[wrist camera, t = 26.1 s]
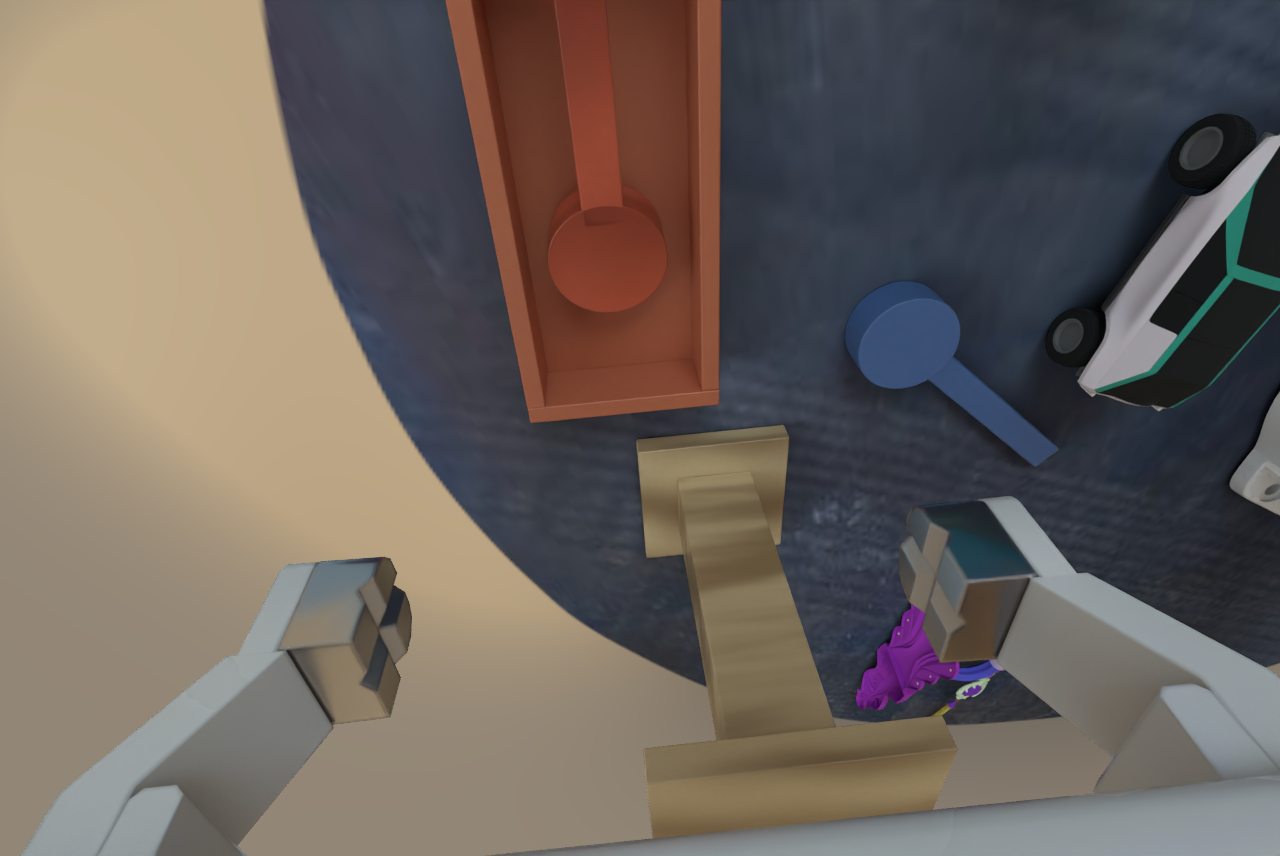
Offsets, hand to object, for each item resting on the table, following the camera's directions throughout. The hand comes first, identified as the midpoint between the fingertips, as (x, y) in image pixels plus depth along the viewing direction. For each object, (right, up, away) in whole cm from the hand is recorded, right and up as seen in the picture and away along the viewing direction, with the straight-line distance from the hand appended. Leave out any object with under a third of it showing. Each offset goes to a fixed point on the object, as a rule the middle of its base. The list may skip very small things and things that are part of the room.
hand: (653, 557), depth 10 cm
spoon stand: (+4, -1, +27) cm, 28 cm away
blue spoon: (+17, +4, +24) cm, 30 cm away
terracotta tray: (-2, +12, +17) cm, 21 cm away
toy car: (+24, +10, +21) cm, 34 cm away
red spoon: (-2, +13, +12) cm, 18 cm away
